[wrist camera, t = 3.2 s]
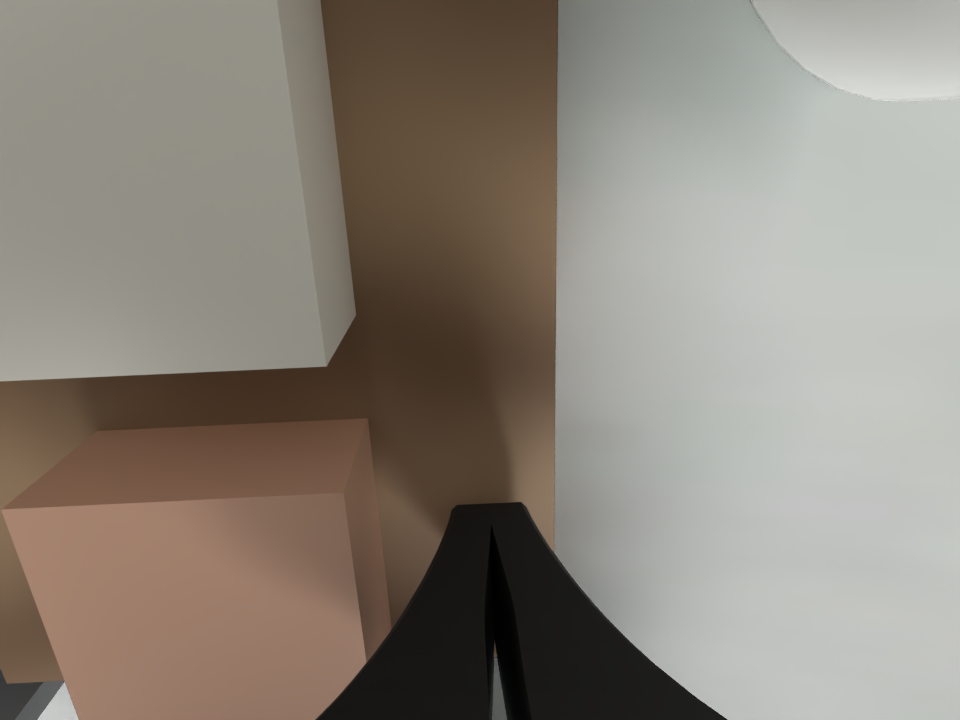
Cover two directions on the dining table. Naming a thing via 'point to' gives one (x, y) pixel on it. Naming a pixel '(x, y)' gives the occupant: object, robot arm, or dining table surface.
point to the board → (384, 297)
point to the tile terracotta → (208, 569)
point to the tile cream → (168, 189)
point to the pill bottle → (872, 45)
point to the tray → (25, 698)
